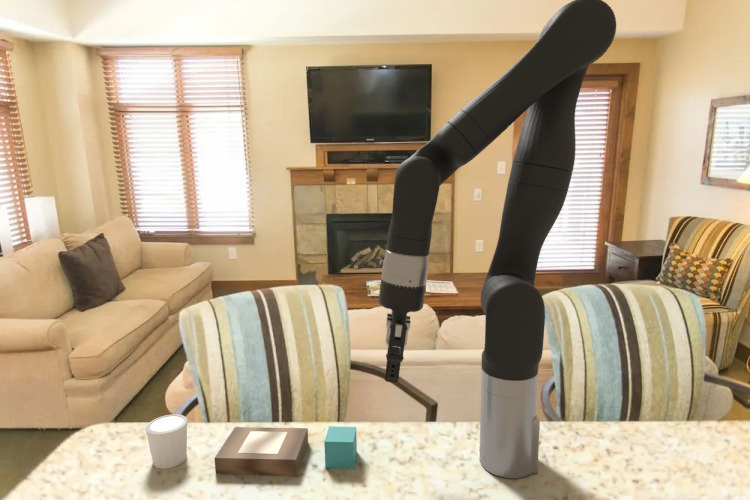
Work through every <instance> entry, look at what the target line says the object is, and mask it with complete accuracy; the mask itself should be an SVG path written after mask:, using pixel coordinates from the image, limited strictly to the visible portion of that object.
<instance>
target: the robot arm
mask: <svg viewBox="0 0 750 500" xmlns="http://www.w3.org/2000/svg"><path fill="white" fill-rule="evenodd" d="M616 33H617V18H616V15H615V12H614V10H613V9H612V7H611V6H610V5H609V4H608V3H607V2H605V1H603V0H571V1H570V2H568V3H567V4H565V5H563V6H562V7H561V8H560V9H559V10H558V11H557V12H555V13H554V15H553V16H552V17H551V18H550V19H549V20H548V21H547V22H546V23H545V25H544V26H543V28H542V30H541V31H540V35H539V38H538V39H537V40H536V42H535V43H534V44H533V46H532V47H531V48H529V50H528V51H526V53H525V54H524V55H522V57H520V59H519V60H518V61H517V62H516V63H515V64H513V65H512V66H511V67H510V68H509V69H508V70H507V71H505V72H504V73H503V74H502V75H500V77H498V78H497V79H496V80H495V81H493V82H492V83H491V84H490V85H488V86H487V87H486V88H485V89H484V90H482V91H481V92H480V93H479V94H477V95H476V96H475V97H474V98H472V100H470V101H469V102H467V104H466V105H464V106H463V107H462V108H461V109H459V111H457V113H455V115H453V116H452V117H451V118H450V119H449V120H447V122H446V123H445V124H444V125H443V126H441V128H440V129H439V130H438V131H437V133H436V134H435V135H434V137H432V138H431V139H430V140H428V141H427V142H426V143H425V144H424V145H423V146H422V147H420V148H419V149H418V150H417V151H415V153H413V154H412V155H411V156H409V157H408V158H406V159H405V160H403V161H402V162H401V163H400V164H399V166H398V167H397V169H396V171H395V177H394V183H393V184H394V185H393V186H394V187H393V198H392V211H391V213H392V214H391V220H390V224H389V227H388V234H387V242H386V247H385V248H386V249H385V253H384V259H383V262H382V271H381V275H380V276H381V279H380V285H379V293H378V304H379V305H380V306H381V307H383V308H385V309H388V310H391V313H390V312H388V313H387V314H386V315H387V316H386V324H385V329H386V334H385V335H386V336H385V346H386V347H387V351H386V354H385V358H386V366H385V373H384V380H385V382H389V383H394V384H395V383H398V382H399V379H400V378H399V377H400V370H401V363H403V361H404V350H405V348H406V347H407V345H408V336H409V335H408V334H409V332H410V330H411V316H410V315H407V314H408V313H411V312H412V313H417V312H420V311H421V310H422V309H423V307H424V303H425V295H426V289H427V288H426V287H427V281H428V274H429V257H430V256H429V255H430V248H431V241H432V234H433V232H432V231H433V219H434V216H435V212H436V208H437V207H436V206H437V202H438V197H439V192H440V187H441V185H443V184H444V183H445V181H446V180H448V179H449V178H450V177H452V175H454V173H455V172H457V170H458V169H460V168H461V167H463V166H465V165H466V164H468V163H470V162H471V161H472V160H474V158H476V157H477V156H478V155H480V154H481V152H483V151H485V149H487V147H488V146H490V145H491V144H492V143H493V142H494V141H495V140H496V139H498V138H499V136H500V135H502V134H503V133H504V132H505V131H506V130H507V129H508V128H509V127H510V126H511V125H512V124H513V123H515V121H516V120H518V119H519V118H520V116H522V115H523V114H524V112H526V114H525V117H524V121H523V124H522V127H521V130H520V134H519V137H518V141H517V146H516V149H515V152H514V155H513V160H512V164H511V165H512V166H511V168H510V169H511V170H510V173H509V178H508V182H507V185H506V194H505V198H504V204H503V209H502V213H501V215H502V216H501V221H500V228H499V234H498V239H497V243H496V245H495V246H496V247H495V250H494V253H493V256H492V259H491V262H490V264H489V265H490V266H489V269H488V271H487V273H486V277H485V279H484V282H483V285H482V289H481V292H480V305H481V309H482V311H483V313H484V316H485V327H484V332H485V333H484V348H483V351H482V352H481V365H480V367H481V371H480V372H481V373H480V376H481V377H480V415H479V416H480V419H479V421H480V422H479V423H480V428H479V463H480V465H481V466H482V467H483V469H484V470H486V471H487V472H489V473H491V474H492V475H495V476H497V477H500V478H504V479H505V478H506V479H521V478H524V477H527V476H529V475H532V474H538V473H539V453H540V451H539V450H540V449H539V447H540V430H541V427H540V426H541V423H540V422H541V421H540V418H539V417H538V415H537V409H538V408H537V407H538V406H537V405H538V404H537V403H538V383H539V382H538V381H539V365H540V362H541V361H542V356H543V353H544V352H543V351H544V339H545V338H544V337H545V323H546V307H545V301H544V298H543V295H542V294H541V292H540V291H539V290H538V289H537V288H536V287H535V283H536V282H535V280H536V273H537V268H538V263H539V262H538V261H539V257H540V254H541V251H542V247H543V245H544V243H545V240H547V237H548V235H549V233H550V232H551V230H552V228H553V227H554V226H555V225H554V224H555V223H556V221H557V219H558V218H559V215H560V213H561V211H562V210H563V206H564V204H565V201H566V198H567V195H568V191H569V188H570V183H571V179H572V177H573V171H574V166H575V161H576V142H577V141H576V121H575V120H576V109H577V108H576V107H577V103H578V98H579V96H580V92H581V90H582V85H583V82H584V79H585V76H586V73H587V71H588V69H589V66H590V65H592V64H594V63H595V62H596V61H598V60H599V59H600V58H602V57H603V56H604V55H605V54H606V52H608V49H609V48H610V47H611V46H612V43H613V40H614V39H615V36H616Z"/></svg>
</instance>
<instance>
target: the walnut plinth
mask: <svg viewBox="0 0 750 500" xmlns="http://www.w3.org/2000/svg"><path fill="white" fill-rule="evenodd" d="M308 445H309V429H308V427H307V428H306V427H263V426H262V427H261V426H260V427H259V426H258V427H257V426H256V427H255V426H254V427H249V426H235V427H234V428H233V429H232V431H231V432H230V434H229V435H228V437H227V439H226V440H225V441H224V443H223V445H222V446H221V447H220V448H219V450H218V452H217V453H216V455H215V456H214V470H215V475H238V476H239V475H240V476H243V475H244V476H245V475H246V476H247V475H248V476H279V477H280V476H282V477H283V476H284V477H285V476H288V477H296V476H298V473H299V470H300V467H301V464H302V462H303V459H304V456H305V453H306V450H307V448H308Z"/></svg>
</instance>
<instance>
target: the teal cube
mask: <svg viewBox="0 0 750 500" xmlns="http://www.w3.org/2000/svg"><path fill="white" fill-rule="evenodd" d="M357 438H358V437H357V426H328V429H327V432H326V435H325V438H324V441H323V442H324V443H323V444H324V464H325V465H324V466H325V467H324V468H325V469H354V468H355V465H356V459H357V454H358V453H357V452H358V446H357Z"/></svg>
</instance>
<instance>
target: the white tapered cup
mask: <svg viewBox="0 0 750 500" xmlns="http://www.w3.org/2000/svg"><path fill="white" fill-rule="evenodd" d="M145 431H146V436H147V437H146V438H147V442H148V446H149V452H150V456H151V460H152V461H151V462H152V465H153V466H154V467H155V468H158V469H170V468H174V467H176V466H179V465H181V464H182V463H183V462H185V460H186V459H187V456H188V455H187V454H188V453H187V452H188V451H187V450H188V449H187V448H188V418H187V417H186V416H185V415H183V414H180V413H177V414H176V413H175V414H166V415H161V416H159V417H157V418H154V419H153V420H152V421H150V422H149V423H148V424H146V426H145Z"/></svg>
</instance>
